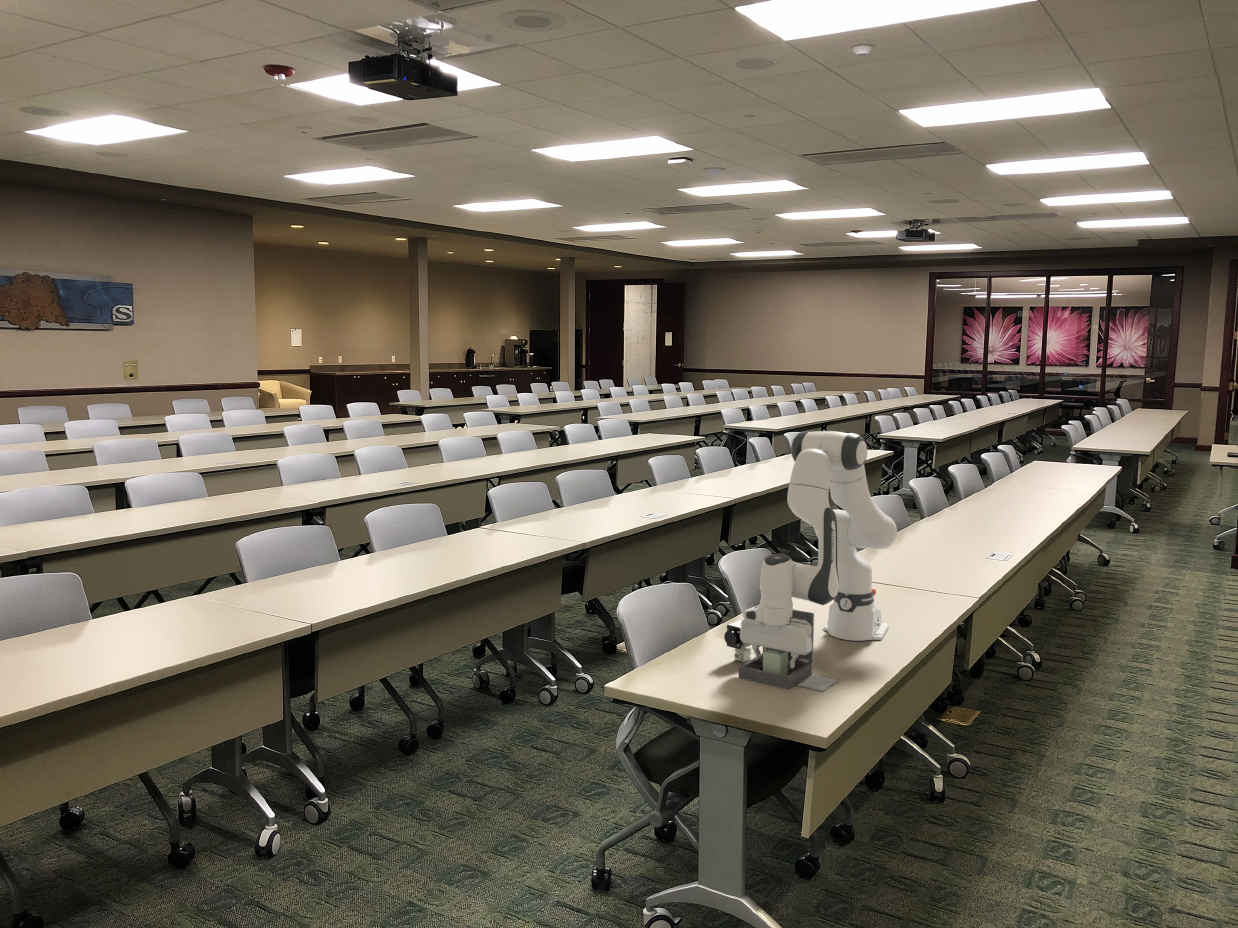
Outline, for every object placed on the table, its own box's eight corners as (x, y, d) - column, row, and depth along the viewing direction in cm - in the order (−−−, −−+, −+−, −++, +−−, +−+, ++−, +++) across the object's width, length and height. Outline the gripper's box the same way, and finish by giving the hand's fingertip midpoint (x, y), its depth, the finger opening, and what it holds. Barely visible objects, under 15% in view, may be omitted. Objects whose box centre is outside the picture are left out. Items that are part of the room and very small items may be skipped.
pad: (812, 676, 245) (812, 674, 245) (836, 681, 241) (837, 680, 241) (798, 685, 238) (798, 684, 238) (823, 691, 233) (823, 690, 233)
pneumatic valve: (723, 662, 256) (723, 622, 254) (748, 653, 264) (748, 613, 262) (738, 667, 252) (739, 626, 250) (763, 657, 260) (764, 617, 259)
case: (764, 662, 256) (765, 604, 254) (813, 672, 247) (814, 612, 245) (738, 677, 244) (739, 616, 242) (789, 689, 235) (790, 626, 233)
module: (771, 671, 249) (771, 644, 248) (787, 674, 246) (788, 648, 245) (762, 676, 245) (763, 649, 244) (779, 680, 242) (779, 653, 241)
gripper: (816, 618, 240) (815, 668, 241) (748, 606, 252) (747, 653, 253) (806, 623, 235) (805, 675, 236) (737, 611, 247) (736, 659, 248)
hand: (775, 663), depth 245 cm, fingers open, 8 cm apart
